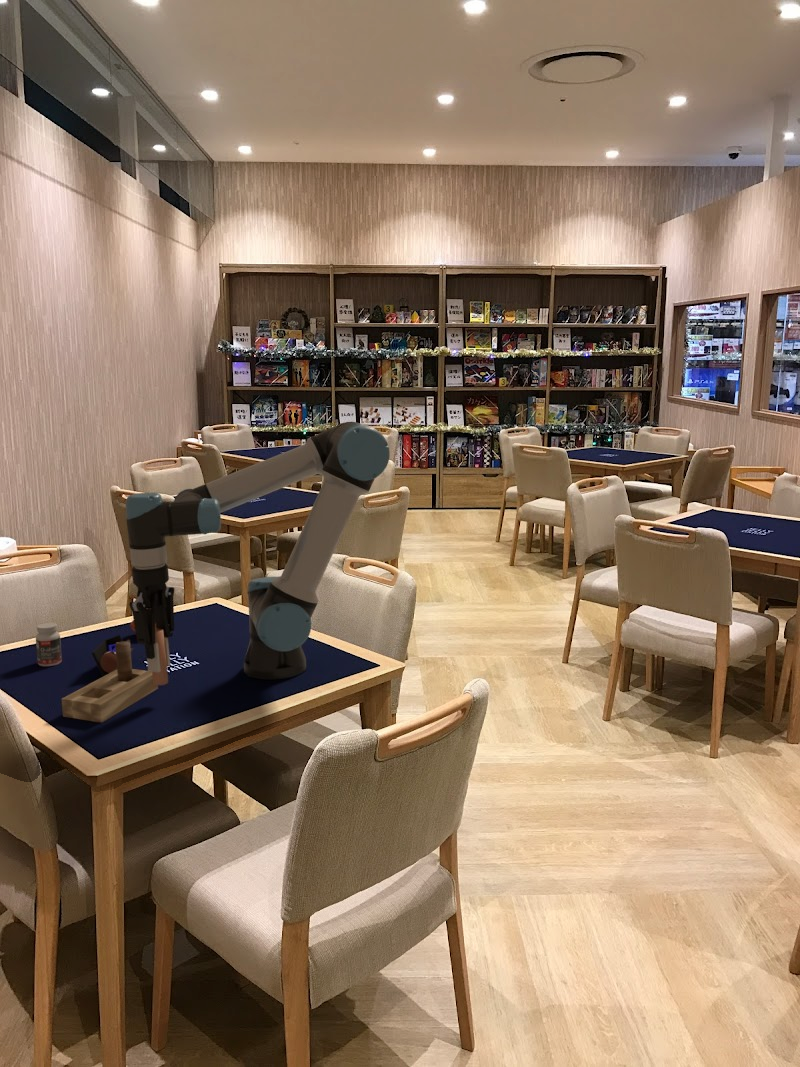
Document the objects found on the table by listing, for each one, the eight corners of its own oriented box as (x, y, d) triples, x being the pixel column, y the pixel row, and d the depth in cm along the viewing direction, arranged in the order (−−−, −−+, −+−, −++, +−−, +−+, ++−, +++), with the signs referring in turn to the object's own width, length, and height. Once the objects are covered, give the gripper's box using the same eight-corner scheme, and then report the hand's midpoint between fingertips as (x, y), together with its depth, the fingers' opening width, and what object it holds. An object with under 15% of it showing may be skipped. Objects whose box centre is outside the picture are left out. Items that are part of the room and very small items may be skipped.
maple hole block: (157, 688, 198) (156, 672, 198) (101, 722, 180) (100, 704, 179) (121, 683, 202) (120, 667, 201) (63, 716, 183) (61, 698, 182)
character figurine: (137, 660, 218) (118, 682, 204) (109, 658, 218) (87, 680, 204) (137, 631, 217) (118, 651, 202) (109, 629, 217) (87, 649, 202)
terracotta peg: (171, 680, 191) (166, 629, 188) (162, 686, 188) (157, 633, 185) (158, 679, 192) (153, 628, 189) (150, 684, 189) (145, 632, 186)
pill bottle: (42, 668, 212) (38, 630, 210) (34, 662, 216) (31, 624, 214) (65, 663, 215) (62, 625, 213) (58, 657, 220) (54, 620, 218)
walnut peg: (136, 692, 196) (133, 642, 194) (127, 697, 193) (124, 646, 191) (124, 690, 197) (121, 640, 195) (116, 695, 195) (112, 645, 192)
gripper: (156, 555, 193) (166, 654, 198) (111, 573, 178) (122, 679, 183) (185, 557, 190) (194, 657, 195) (141, 575, 175) (152, 683, 180)
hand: (159, 668), depth 189 cm, fingers closed on terracotta peg, 3 cm apart
